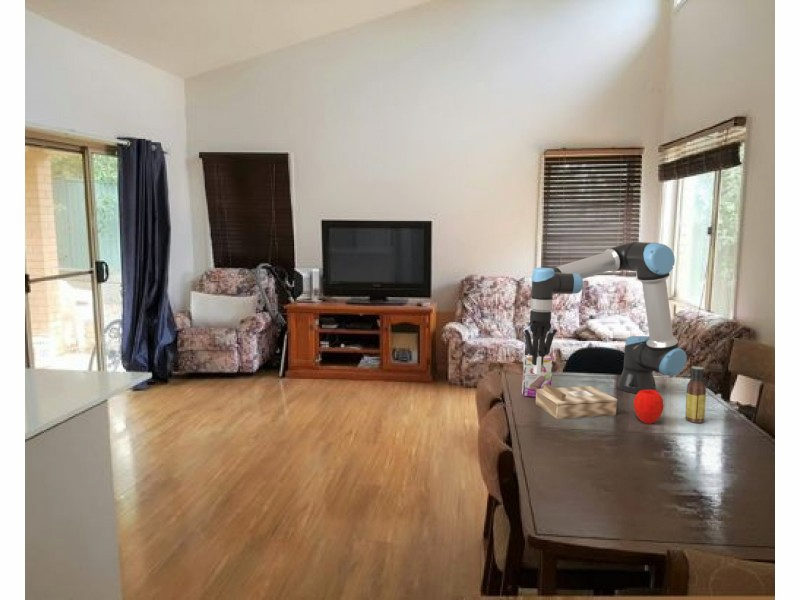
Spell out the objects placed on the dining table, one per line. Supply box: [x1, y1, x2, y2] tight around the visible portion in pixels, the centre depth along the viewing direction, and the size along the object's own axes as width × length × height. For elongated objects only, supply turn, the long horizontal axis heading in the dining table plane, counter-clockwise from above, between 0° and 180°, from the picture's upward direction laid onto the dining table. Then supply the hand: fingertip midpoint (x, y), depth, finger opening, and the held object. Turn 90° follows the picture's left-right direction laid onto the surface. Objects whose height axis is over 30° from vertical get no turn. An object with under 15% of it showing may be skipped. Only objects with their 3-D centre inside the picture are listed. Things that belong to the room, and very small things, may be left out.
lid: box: [536, 384, 618, 405], centre depth 218 cm, size 24×17×3 cm
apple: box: [633, 389, 664, 425], centre depth 206 cm, size 10×10×12 cm
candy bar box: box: [521, 354, 554, 398], centre depth 233 cm, size 11×5×16 cm, turn 84°
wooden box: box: [535, 392, 618, 420], centre depth 218 cm, size 24×17×5 cm
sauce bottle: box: [684, 366, 707, 424], centre depth 207 cm, size 6×6×20 cm
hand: (536, 373), depth 213 cm, fingers closed
